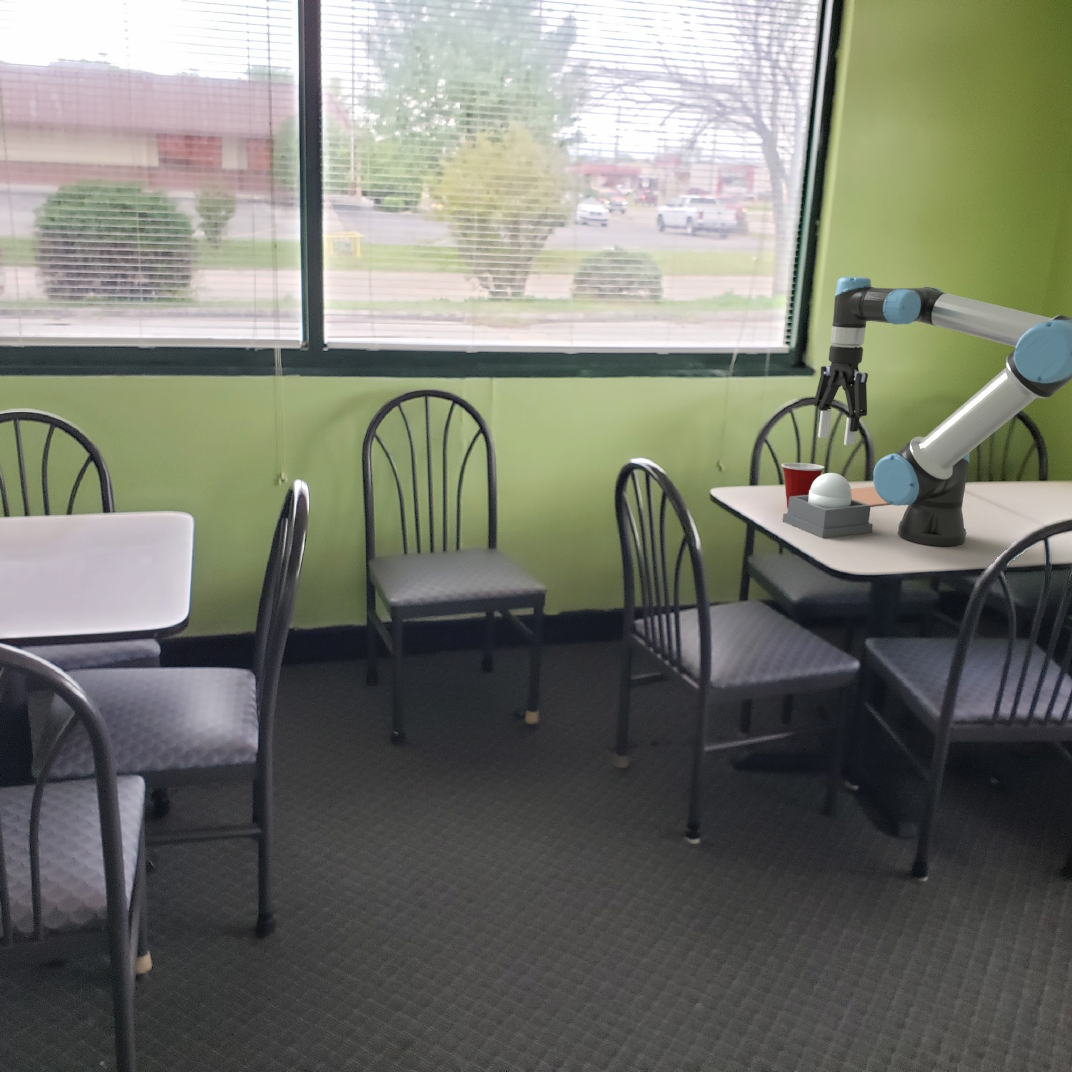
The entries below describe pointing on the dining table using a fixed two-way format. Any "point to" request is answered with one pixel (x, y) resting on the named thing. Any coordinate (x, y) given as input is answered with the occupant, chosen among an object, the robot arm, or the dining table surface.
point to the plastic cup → (800, 478)
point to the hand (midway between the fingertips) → (836, 440)
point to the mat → (867, 496)
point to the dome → (830, 491)
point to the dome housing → (828, 517)
